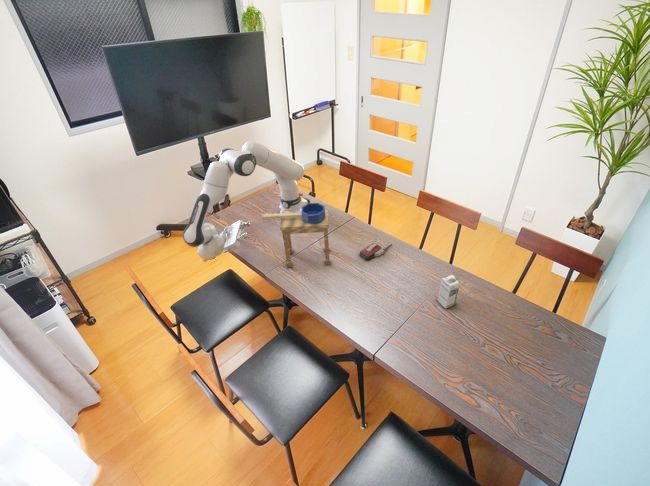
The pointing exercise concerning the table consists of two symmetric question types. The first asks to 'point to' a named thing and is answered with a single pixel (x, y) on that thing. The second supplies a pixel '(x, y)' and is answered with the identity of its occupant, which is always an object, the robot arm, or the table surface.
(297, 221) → the stand
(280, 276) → the table surface
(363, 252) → the walkie-talkie
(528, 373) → the table surface
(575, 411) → the table surface
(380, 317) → the table surface
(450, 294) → the syrup box
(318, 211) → the blue saucepan
